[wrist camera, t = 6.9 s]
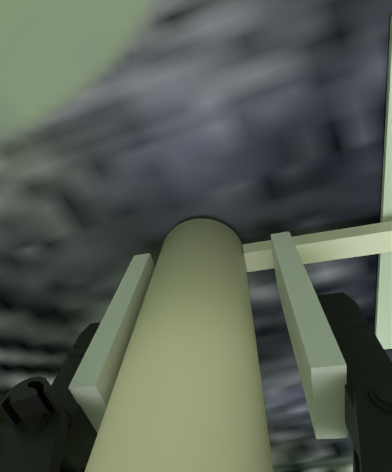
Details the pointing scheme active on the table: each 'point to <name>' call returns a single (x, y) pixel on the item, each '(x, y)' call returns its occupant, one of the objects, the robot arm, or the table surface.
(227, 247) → the tan block and peg
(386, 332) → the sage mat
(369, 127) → the table surface
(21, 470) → the robot arm
